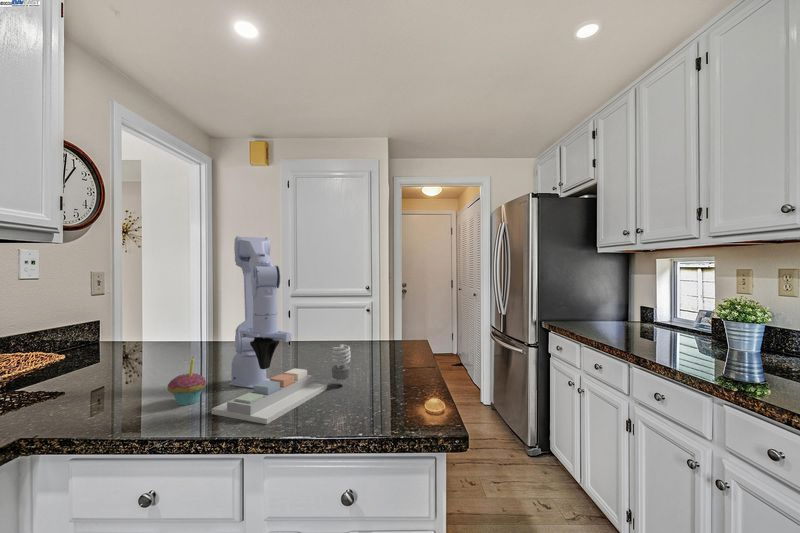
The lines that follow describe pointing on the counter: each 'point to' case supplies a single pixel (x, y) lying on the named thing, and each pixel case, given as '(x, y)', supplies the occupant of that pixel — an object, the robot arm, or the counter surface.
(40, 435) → the counter surface
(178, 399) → the cupcake
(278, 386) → the key slate
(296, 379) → the key ivory
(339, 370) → the light bulb
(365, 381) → the counter surface
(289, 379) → the key terracotta
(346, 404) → the counter surface
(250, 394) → the key sage
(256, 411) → the keypad
